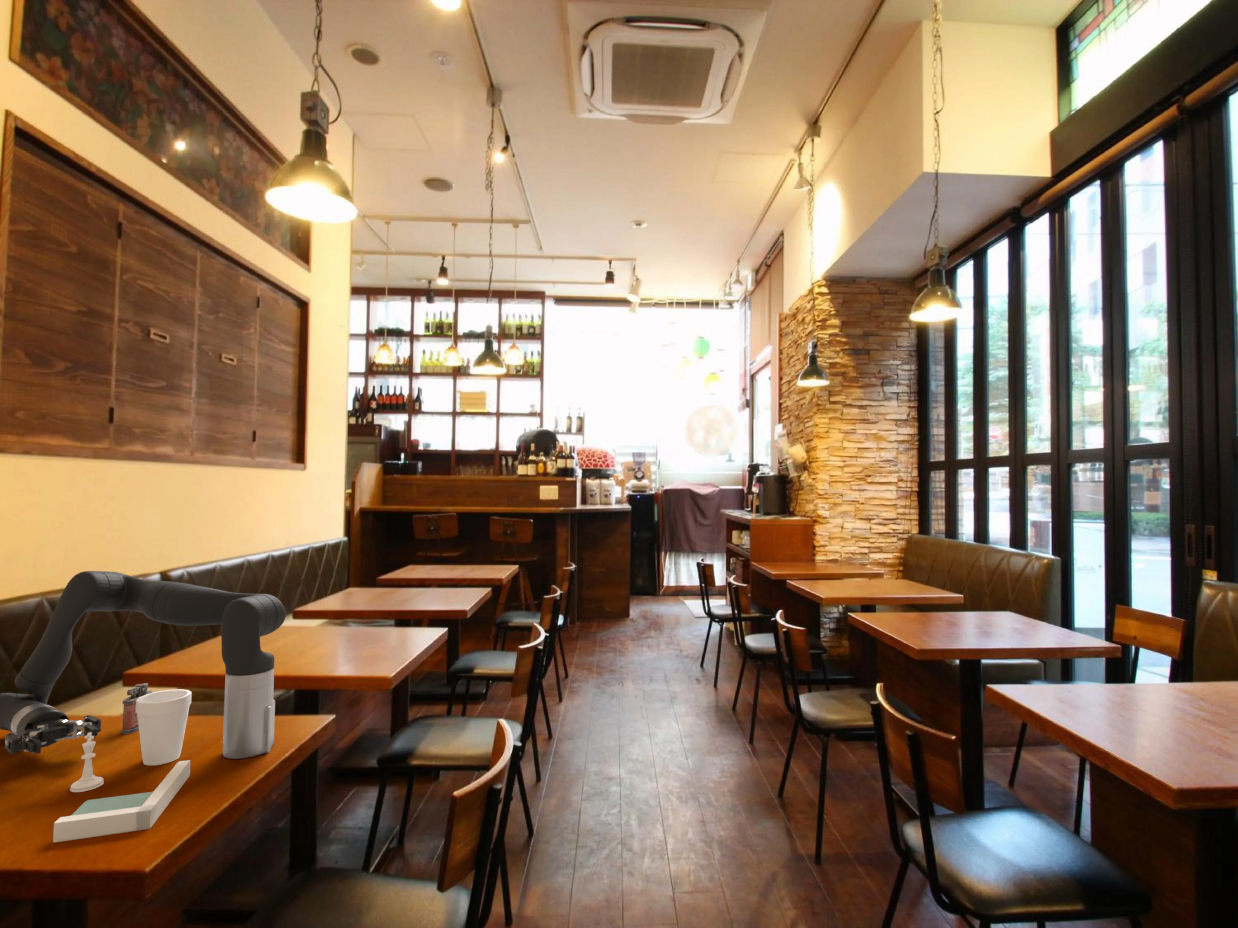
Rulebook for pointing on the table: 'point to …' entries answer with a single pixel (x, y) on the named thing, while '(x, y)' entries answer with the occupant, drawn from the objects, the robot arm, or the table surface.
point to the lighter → (132, 708)
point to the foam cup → (162, 724)
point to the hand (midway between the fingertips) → (67, 740)
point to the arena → (121, 810)
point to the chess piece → (87, 769)
